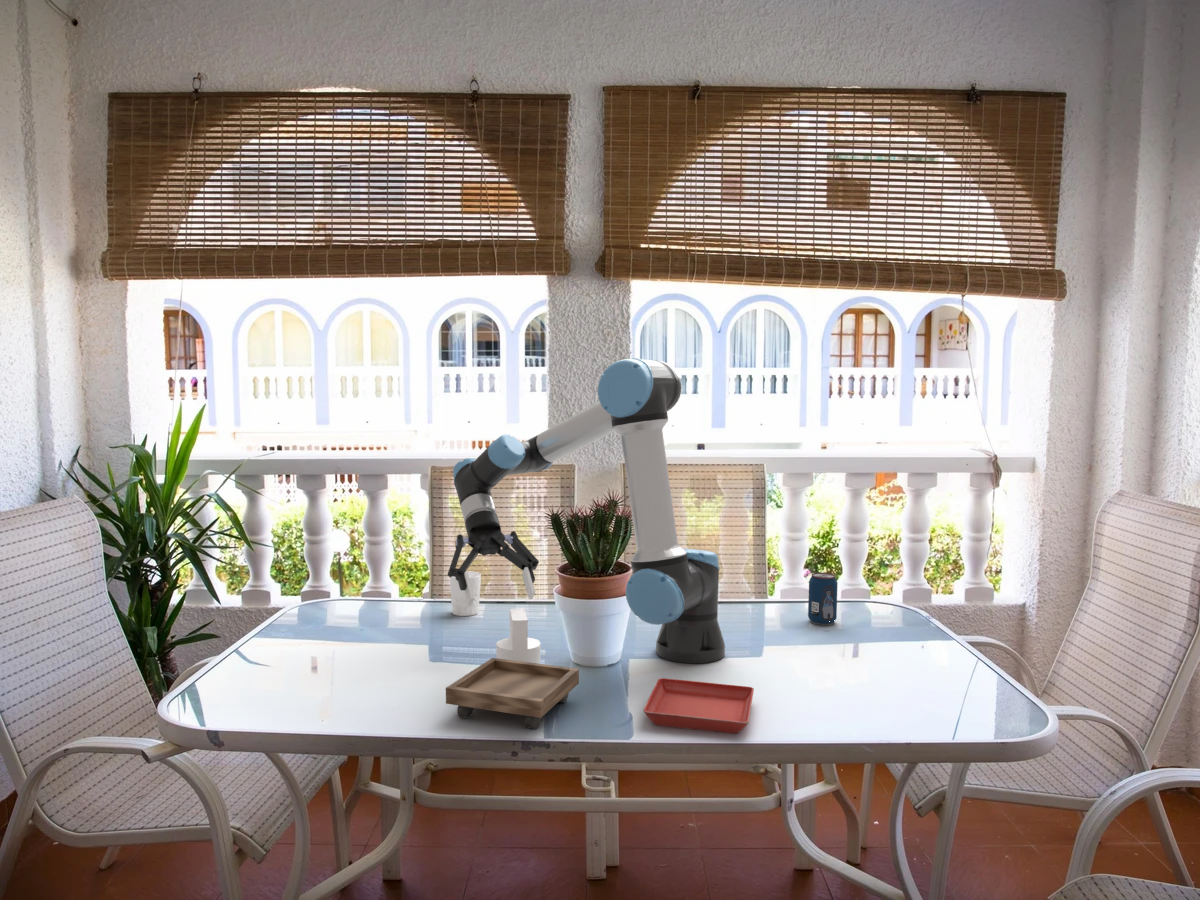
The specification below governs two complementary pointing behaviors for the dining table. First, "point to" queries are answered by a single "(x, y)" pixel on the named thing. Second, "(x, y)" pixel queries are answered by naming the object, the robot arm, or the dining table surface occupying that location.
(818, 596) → the soda can
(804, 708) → the dining table surface
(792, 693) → the dining table surface
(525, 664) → the cart
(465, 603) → the white cup
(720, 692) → the plant saucer
